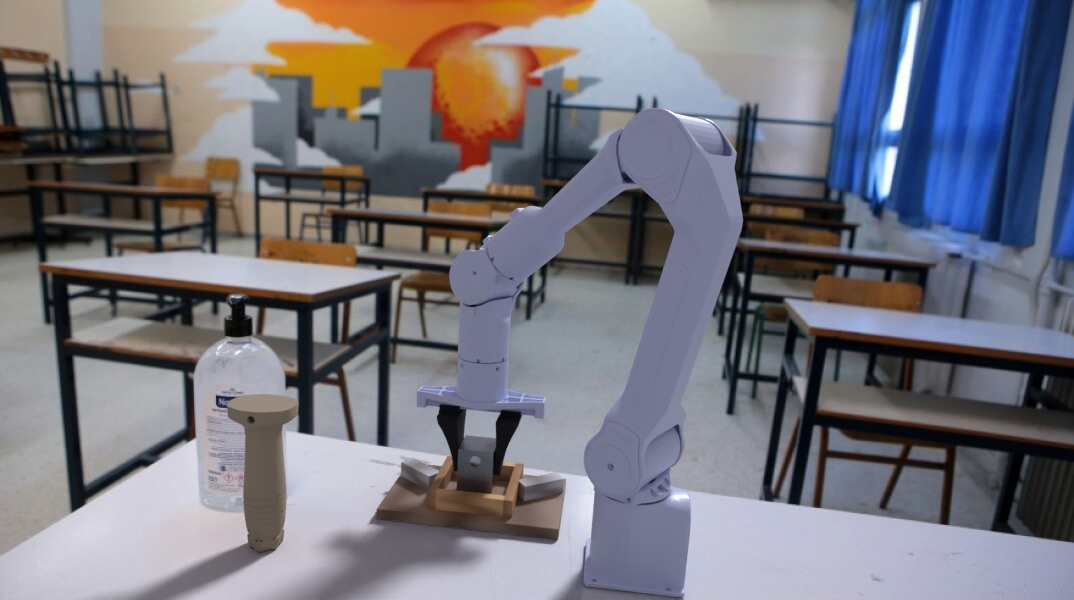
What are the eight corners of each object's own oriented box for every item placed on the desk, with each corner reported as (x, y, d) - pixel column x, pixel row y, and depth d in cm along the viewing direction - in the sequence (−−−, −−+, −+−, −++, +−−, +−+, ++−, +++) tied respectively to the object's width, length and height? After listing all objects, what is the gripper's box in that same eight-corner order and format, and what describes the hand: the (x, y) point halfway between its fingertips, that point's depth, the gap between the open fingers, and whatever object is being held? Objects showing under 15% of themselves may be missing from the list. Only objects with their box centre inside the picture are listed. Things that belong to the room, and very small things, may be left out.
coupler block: (497, 476, 80) (499, 437, 80) (490, 495, 76) (492, 454, 75) (464, 473, 81) (466, 433, 80) (455, 491, 76) (457, 450, 75)
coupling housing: (565, 487, 84) (567, 463, 83) (558, 539, 72) (560, 511, 72) (408, 471, 86) (409, 447, 85) (376, 518, 74) (376, 492, 73)
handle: (286, 561, 65) (284, 414, 63) (222, 554, 66) (217, 408, 63) (307, 534, 70) (306, 397, 67) (247, 528, 71) (243, 392, 68)
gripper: (551, 352, 79) (544, 461, 81) (429, 342, 80) (426, 449, 83) (545, 370, 72) (537, 488, 74) (412, 358, 73) (409, 474, 76)
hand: (478, 469), depth 78 cm, fingers closed on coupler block, 4 cm apart
